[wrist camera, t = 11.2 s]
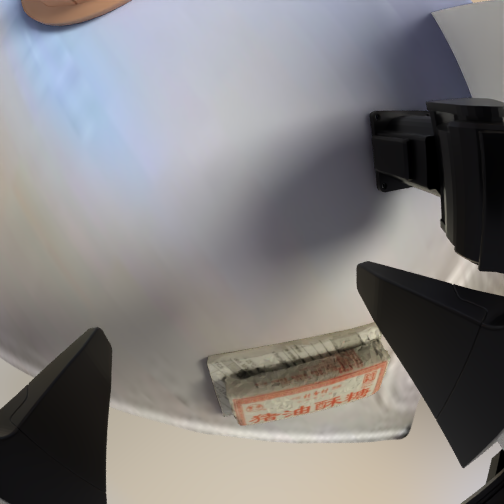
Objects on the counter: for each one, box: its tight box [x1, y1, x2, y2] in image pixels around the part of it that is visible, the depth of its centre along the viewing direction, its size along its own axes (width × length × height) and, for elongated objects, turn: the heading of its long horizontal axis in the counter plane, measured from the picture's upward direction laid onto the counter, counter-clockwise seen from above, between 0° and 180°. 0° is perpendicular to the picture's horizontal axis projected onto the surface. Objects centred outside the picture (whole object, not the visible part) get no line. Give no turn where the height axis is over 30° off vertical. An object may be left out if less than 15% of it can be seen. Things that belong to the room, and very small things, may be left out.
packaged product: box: [207, 322, 390, 425], centre depth 26 cm, size 18×5×10 cm
